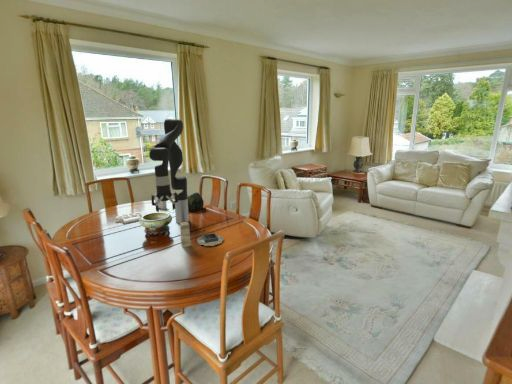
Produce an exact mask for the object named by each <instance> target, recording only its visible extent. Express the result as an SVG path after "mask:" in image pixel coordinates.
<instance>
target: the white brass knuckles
mask: <svg viewBox="0 0 512 384" xmlns="http://www.w3.org/2000/svg"><path fill="white" fill-rule="evenodd" d="M140 218H141V219H142V212H139V211H137V212H131V213H124V214H122V215H118V216H116V217H115V221H116V223H123V224H124V225H125V224H129V223H134V222H137V221H140V220H139V219H140Z"/></svg>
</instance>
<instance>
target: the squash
mask: <svg viewBox="0 0 512 384" xmlns="http://www.w3.org/2000/svg"><path fill="white" fill-rule="evenodd" d="M187 197H188V211H197V210H201V209H203V208H204V205H205V204H204V203H205V202H204V199H203V197H202V196H201V194H200V193H199V192H194V193H192V194H191V195H188V196H187Z"/></svg>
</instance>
